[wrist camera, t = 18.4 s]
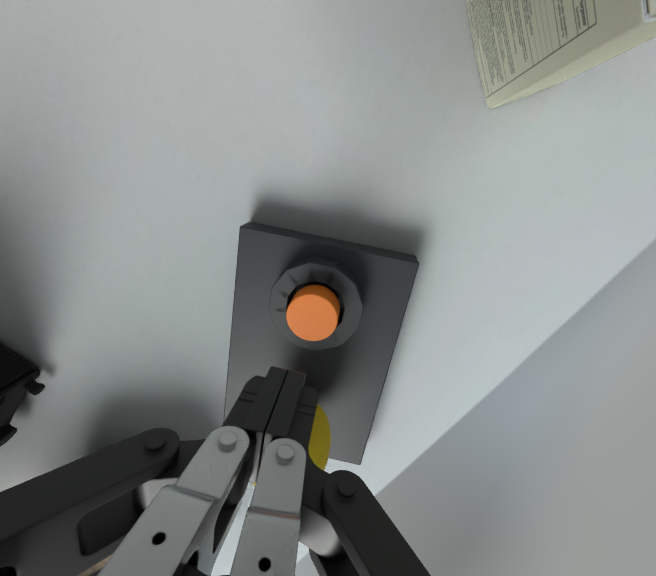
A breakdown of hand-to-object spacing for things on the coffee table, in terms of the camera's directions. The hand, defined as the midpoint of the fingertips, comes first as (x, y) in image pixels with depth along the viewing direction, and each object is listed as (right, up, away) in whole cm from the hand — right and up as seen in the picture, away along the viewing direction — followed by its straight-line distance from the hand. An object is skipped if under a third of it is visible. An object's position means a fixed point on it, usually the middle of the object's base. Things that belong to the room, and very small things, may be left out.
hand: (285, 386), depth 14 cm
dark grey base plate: (0, -1, +13) cm, 13 cm away
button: (+1, +3, +8) cm, 9 cm away
